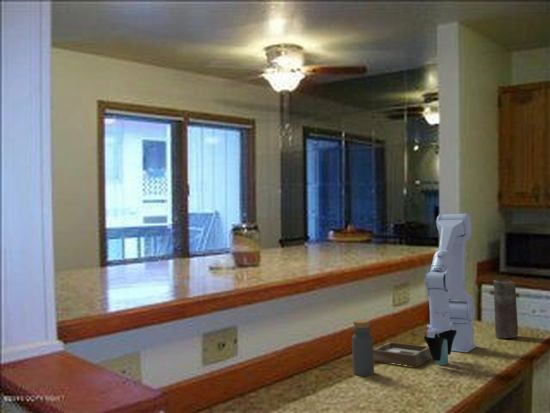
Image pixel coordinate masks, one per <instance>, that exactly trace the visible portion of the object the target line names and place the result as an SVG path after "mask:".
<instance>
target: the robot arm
mask: <svg viewBox="0 0 550 413" xmlns="http://www.w3.org/2000/svg"><path fill="white" fill-rule="evenodd" d="M471 220H472V219H471V216H470V214H468V213H467V212H465V213H449V214H448V213H447V214H445V213H444V214H443V213H440V214H438V216H437V217H436V229H437V231H438V234H439V235H440V238H439V244H438V245H439V247H438V250H437V251H436V252H434V254H433V257H432V262H431V265H430V266H431V267H430V270H429V272H427V273H426V274H425V277H424V278H425V281H424V284H425V288H426V289H425V290H426V294H427V297H428V302H429V306H428V308H429V324H427V325H426V328H427V330H426V334H425V335H424V336H423V340H424V341H425V342H426V345H427V347H429V349H430V352H431V356H432V358H431V359H432V360H433V361H435V362H436V361H440V359H441V348H442V344H443V341H444V339H446V340H447V347H448V356H451V353H452V352H453V351H454V352H461V353H468V352H470V351H472V350H473V349H475V348H477V347H478V344H475V336H474V335H475V331H474V330H475V329H474V325H473V323H472V322H473V320H474V319H475V316H476V308H475V307H476V306H475V300H474V298H473V296H472V295H471V294H469V293H468V292H467V291H466V242H467V241H469V240H470V239H471V236H472V221H471ZM456 300H457V301H456Z"/></svg>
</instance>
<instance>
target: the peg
mask: <svg viewBox="0 0 550 413" xmlns="http://www.w3.org/2000/svg"><path fill="white" fill-rule="evenodd" d="M435 364H436V365H437V364H438V365H437V366H447V364H448V365H449V355H448V347H447V340H446V339H444V341H443V344H442V348H441V359H440V361H436V360H435Z"/></svg>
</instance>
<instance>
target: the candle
mask: <svg viewBox="0 0 550 413" xmlns="http://www.w3.org/2000/svg"><path fill="white" fill-rule="evenodd" d="M492 282H493V301H494V302H493V303H494V304H493V305H494V328H495V332H494V333H495V337H496V339H503V340H504V339H513V338H516V337H517V336H518V335H519V328H518V325H519V324H518V310H517V309H518V308H517V292H516V291H517V290H516V282H514V281H513V280H505V279H499V278H498V279H493V281H492Z"/></svg>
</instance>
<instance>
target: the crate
mask: <svg viewBox="0 0 550 413" xmlns="http://www.w3.org/2000/svg"><path fill="white" fill-rule="evenodd" d="M430 358H431V359H432V356H431V352H430V349H429V347H428V345H427V346H426V345H418V344H410V343H402V342H393V341H389V342H387V343H386V342H385V344H382V345H379V346H377V347H375V348H373V361H374V363H380V364H381V363H382V364H386V363H395V364H401V365H407V366H412V367H411V368H413V367H415V366H417V365H419V364H420V365H422V364H424V363H426V362H427V360H428V359H429V360H431V359H430ZM429 360H428V361H429ZM425 361H426V362H425ZM423 362H424V363H423ZM421 363H422V364H421ZM420 365H419V366H420ZM417 367H418V366H417ZM415 368H416V367H415Z"/></svg>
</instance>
